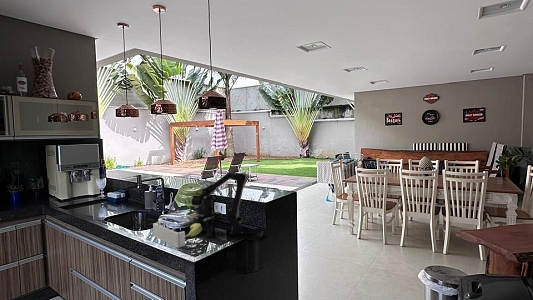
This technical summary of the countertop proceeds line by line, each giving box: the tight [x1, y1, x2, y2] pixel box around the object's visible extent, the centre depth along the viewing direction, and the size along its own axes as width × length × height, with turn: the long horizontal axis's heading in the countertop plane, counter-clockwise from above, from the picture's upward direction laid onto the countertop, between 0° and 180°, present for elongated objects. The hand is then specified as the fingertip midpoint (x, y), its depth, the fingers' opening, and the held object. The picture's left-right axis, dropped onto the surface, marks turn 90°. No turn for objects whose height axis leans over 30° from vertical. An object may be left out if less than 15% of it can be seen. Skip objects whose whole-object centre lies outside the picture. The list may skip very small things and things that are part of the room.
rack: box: [152, 220, 186, 249], centre depth 176 cm, size 30×5×11 cm, turn 46°
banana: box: [185, 222, 203, 239], centre depth 190 cm, size 14×6×20 cm
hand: (208, 229), depth 192 cm, fingers closed
